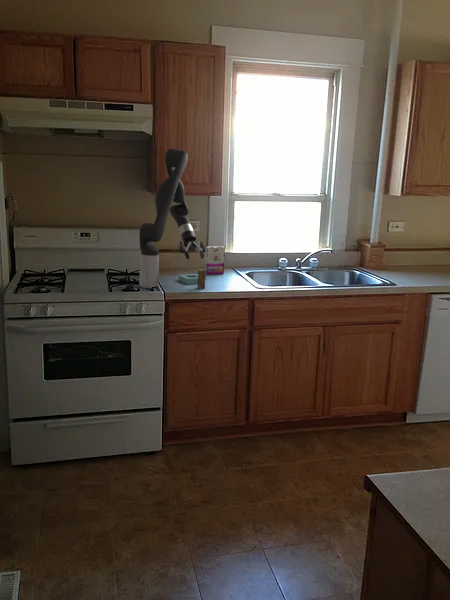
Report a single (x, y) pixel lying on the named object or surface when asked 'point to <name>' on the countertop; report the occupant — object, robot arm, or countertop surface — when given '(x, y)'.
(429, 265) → the countertop surface
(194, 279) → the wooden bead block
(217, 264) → the candy bar box
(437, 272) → the countertop surface
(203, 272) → the tall brown block
